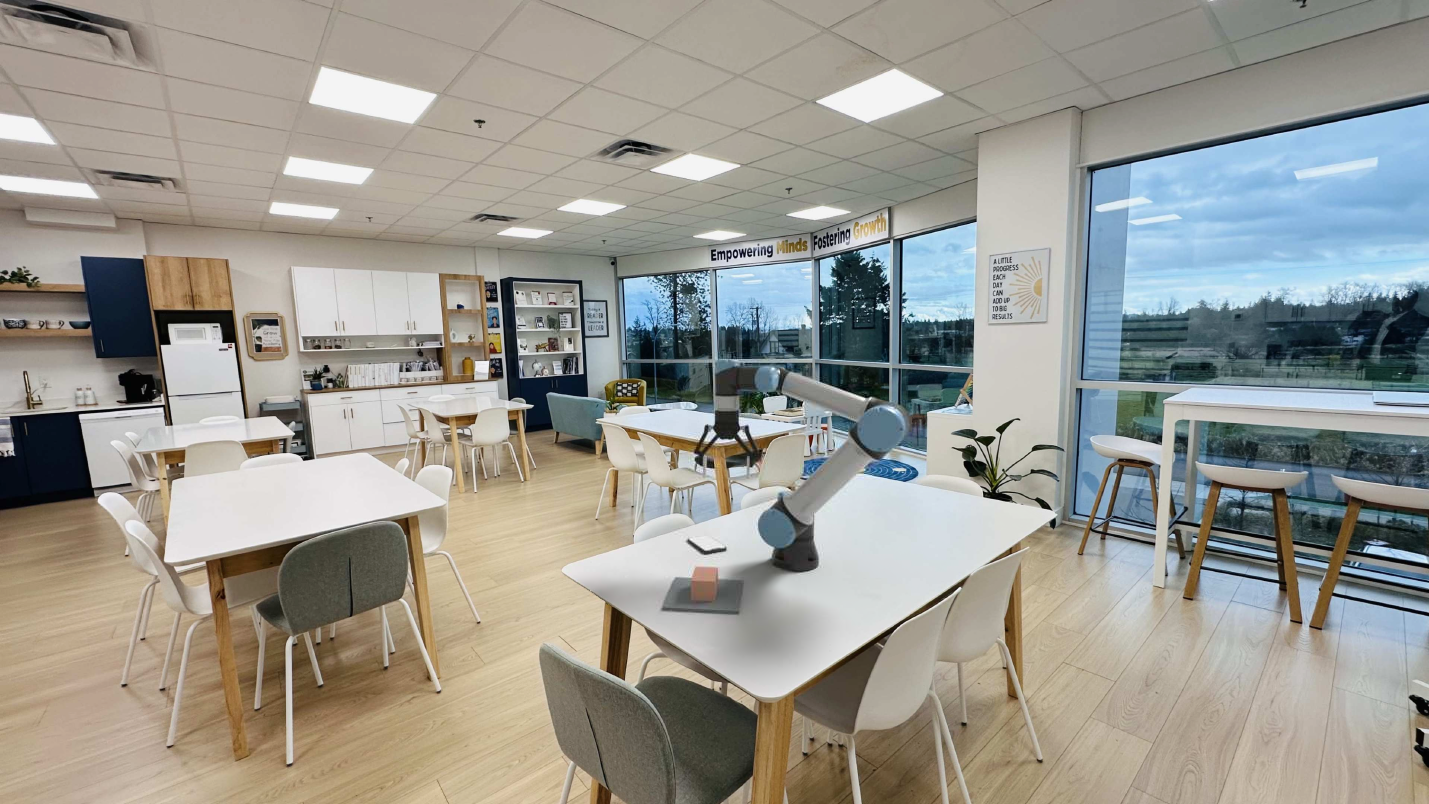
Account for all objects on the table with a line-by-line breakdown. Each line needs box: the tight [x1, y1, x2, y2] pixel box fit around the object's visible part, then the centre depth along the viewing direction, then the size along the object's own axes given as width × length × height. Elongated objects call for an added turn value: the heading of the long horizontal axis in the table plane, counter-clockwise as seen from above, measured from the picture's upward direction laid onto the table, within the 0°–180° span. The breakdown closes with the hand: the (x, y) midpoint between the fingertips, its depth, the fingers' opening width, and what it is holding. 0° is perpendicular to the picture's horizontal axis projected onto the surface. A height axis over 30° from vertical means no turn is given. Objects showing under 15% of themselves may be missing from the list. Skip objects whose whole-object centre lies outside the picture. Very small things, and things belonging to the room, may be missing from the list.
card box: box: [691, 566, 719, 601], centre depth 154 cm, size 10×6×6 cm, turn 175°
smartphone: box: [687, 535, 728, 555], centre depth 195 cm, size 9×2×16 cm
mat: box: [662, 576, 744, 615], centre depth 155 cm, size 20×20×1 cm
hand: (726, 477), depth 174 cm, fingers open, 13 cm apart
